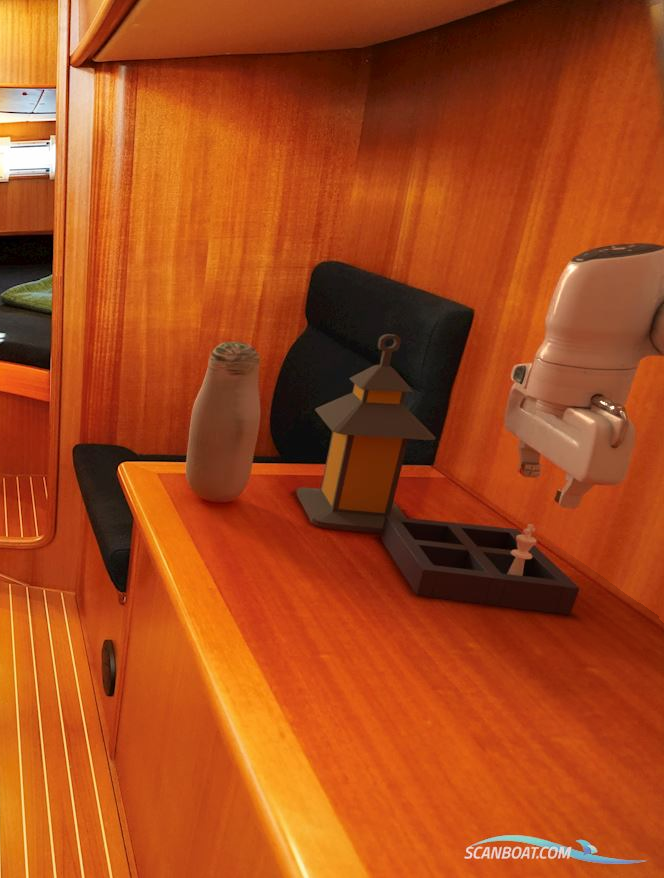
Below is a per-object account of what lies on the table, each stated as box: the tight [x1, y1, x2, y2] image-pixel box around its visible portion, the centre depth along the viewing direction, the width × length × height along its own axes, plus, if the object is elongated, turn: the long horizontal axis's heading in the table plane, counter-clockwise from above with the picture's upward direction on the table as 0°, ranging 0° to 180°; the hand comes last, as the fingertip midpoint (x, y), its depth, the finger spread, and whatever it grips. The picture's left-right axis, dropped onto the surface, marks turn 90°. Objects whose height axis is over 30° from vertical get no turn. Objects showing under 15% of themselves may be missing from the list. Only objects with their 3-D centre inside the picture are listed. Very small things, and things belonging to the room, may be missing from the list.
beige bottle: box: [185, 341, 261, 504], centre depth 118 cm, size 10×10×28 cm
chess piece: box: [507, 523, 538, 576], centre depth 92 cm, size 5×5×10 cm
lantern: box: [296, 333, 436, 535], centre depth 111 cm, size 14×14×30 cm
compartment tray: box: [379, 516, 580, 616], centre depth 97 cm, size 16×16×4 cm
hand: (545, 489), depth 88 cm, fingers open, 8 cm apart
